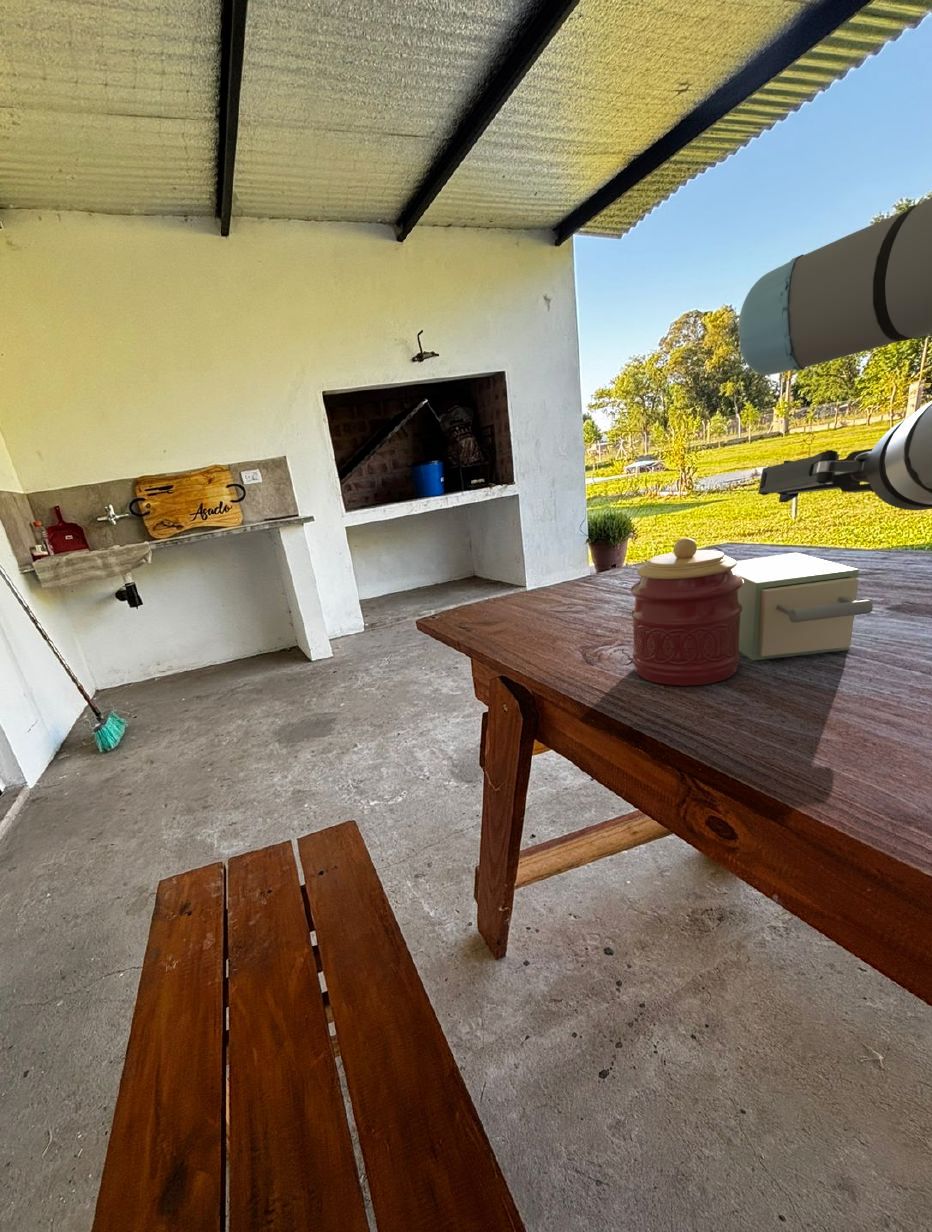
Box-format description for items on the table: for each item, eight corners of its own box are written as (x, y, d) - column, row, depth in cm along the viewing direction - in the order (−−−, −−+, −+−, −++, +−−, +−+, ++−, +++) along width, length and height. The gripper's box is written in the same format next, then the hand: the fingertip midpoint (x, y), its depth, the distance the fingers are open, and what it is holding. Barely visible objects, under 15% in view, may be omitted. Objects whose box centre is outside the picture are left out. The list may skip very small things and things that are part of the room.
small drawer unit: (849, 650, 68) (859, 569, 65) (752, 660, 70) (756, 583, 67) (790, 620, 82) (796, 552, 78) (710, 630, 84) (712, 564, 80)
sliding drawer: (876, 659, 62) (887, 587, 59) (780, 670, 64) (786, 600, 61) (794, 619, 79) (799, 561, 76) (720, 628, 81) (722, 572, 78)
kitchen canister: (761, 665, 69) (770, 527, 62) (694, 696, 64) (697, 550, 58) (675, 647, 80) (675, 528, 74) (612, 672, 75) (607, 548, 69)
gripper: (741, 506, 44) (722, 523, 63) (1184, 506, 34) (1005, 526, 53) (758, 409, 42) (734, 456, 61) (1233, 377, 32) (1029, 446, 51)
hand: (859, 489), depth 57 cm, fingers open, 13 cm apart
